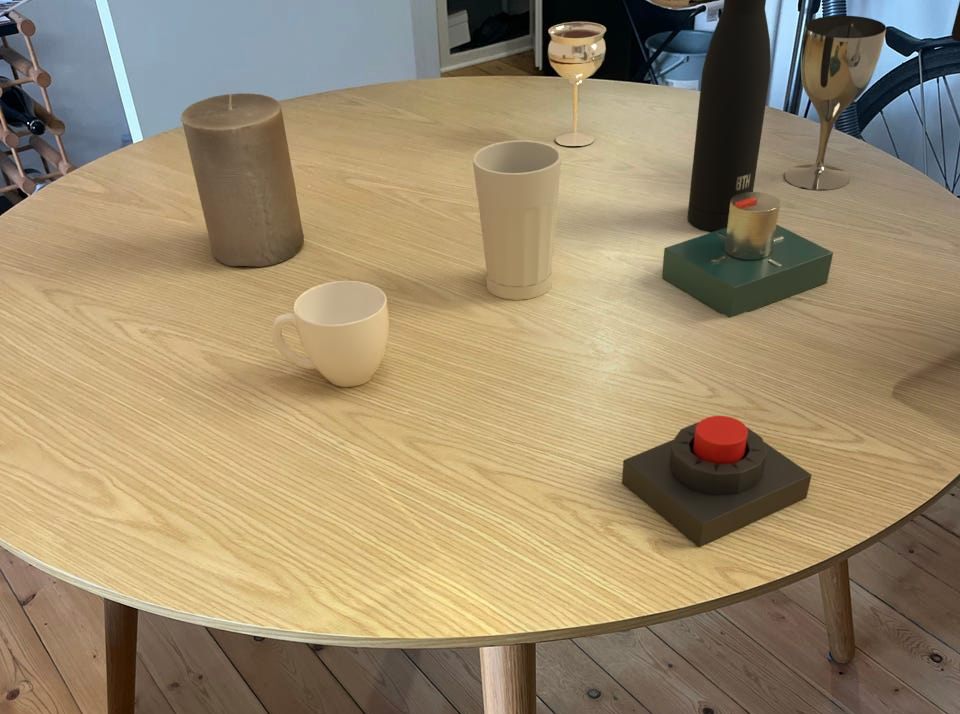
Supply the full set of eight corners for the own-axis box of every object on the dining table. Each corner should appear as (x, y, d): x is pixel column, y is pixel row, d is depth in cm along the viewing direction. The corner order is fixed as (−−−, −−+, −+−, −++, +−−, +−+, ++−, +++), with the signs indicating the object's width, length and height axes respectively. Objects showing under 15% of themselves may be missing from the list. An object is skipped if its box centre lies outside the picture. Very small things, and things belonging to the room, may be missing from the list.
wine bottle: (697, 203, 111) (734, -140, 90) (756, 211, 109) (808, -138, 88) (679, 227, 107) (713, -126, 86) (739, 236, 105) (789, -123, 84)
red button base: (724, 440, 80) (731, 396, 77) (806, 499, 74) (816, 453, 72) (621, 484, 77) (624, 439, 74) (698, 548, 71) (705, 503, 68)
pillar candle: (277, 220, 113) (249, 71, 102) (321, 250, 107) (297, 95, 96) (196, 246, 109) (159, 94, 98) (238, 278, 103) (203, 120, 92)
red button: (721, 430, 75) (724, 409, 73) (755, 454, 72) (758, 433, 71) (682, 446, 73) (685, 425, 72) (715, 471, 71) (718, 450, 70)
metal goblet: (869, 180, 114) (903, 28, 103) (815, 197, 111) (844, 43, 100) (818, 158, 118) (846, 11, 108) (765, 174, 116) (788, 25, 105)
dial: (751, 235, 98) (758, 184, 95) (782, 252, 95) (790, 200, 92) (714, 246, 97) (721, 195, 93) (744, 264, 94) (752, 212, 91)
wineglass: (575, 154, 122) (578, 42, 114) (535, 140, 126) (535, 31, 117) (613, 138, 125) (619, 28, 117) (573, 125, 129) (576, 18, 121)
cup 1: (394, 395, 86) (385, 322, 82) (276, 402, 86) (260, 329, 82) (395, 349, 92) (387, 277, 87) (284, 355, 92) (270, 284, 87)
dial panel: (755, 245, 103) (760, 214, 101) (827, 282, 97) (834, 250, 95) (661, 277, 99) (664, 246, 97) (729, 318, 93) (734, 286, 91)
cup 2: (464, 278, 101) (457, 152, 93) (534, 258, 103) (533, 134, 95) (502, 311, 96) (498, 181, 87) (575, 290, 98) (578, 161, 90)
